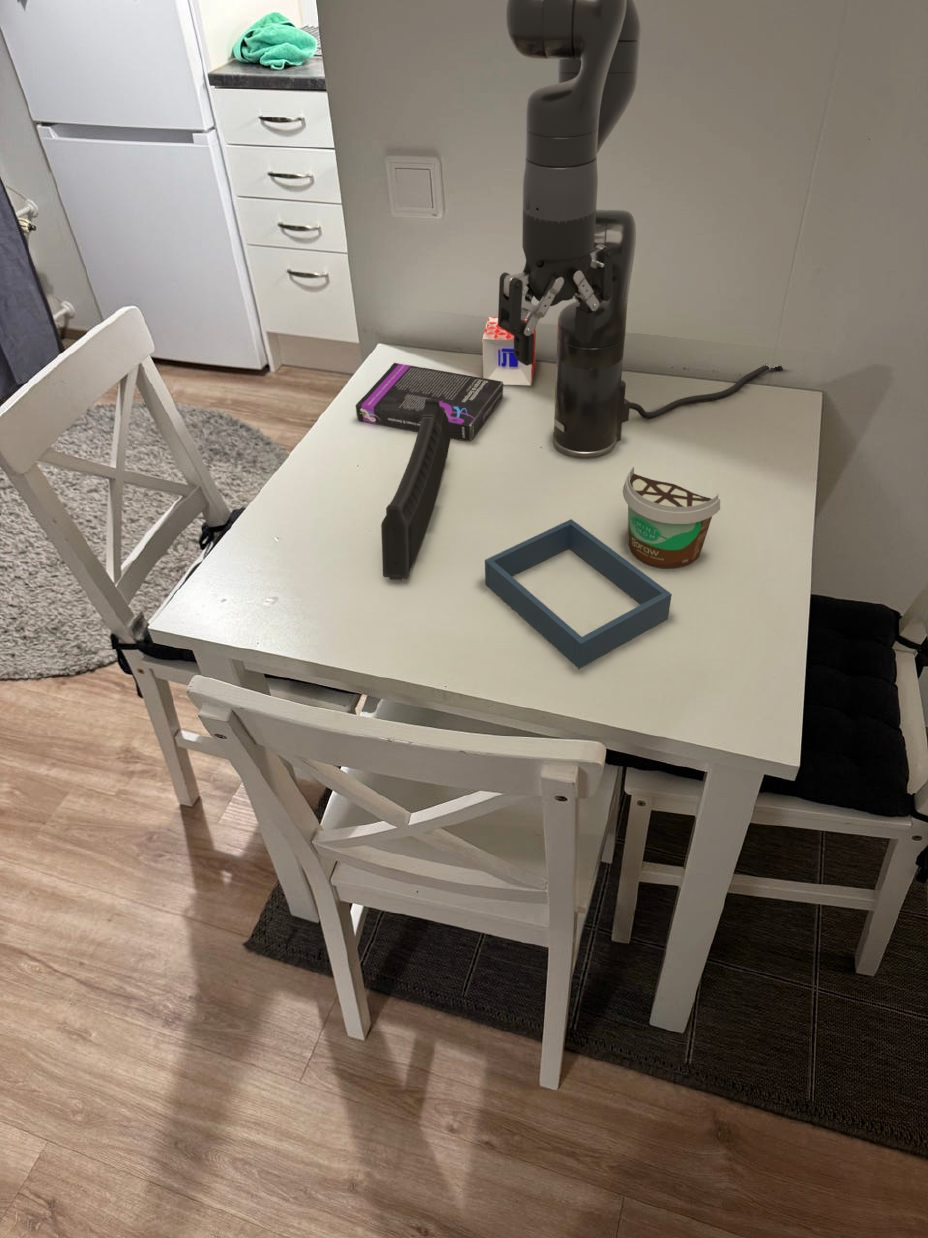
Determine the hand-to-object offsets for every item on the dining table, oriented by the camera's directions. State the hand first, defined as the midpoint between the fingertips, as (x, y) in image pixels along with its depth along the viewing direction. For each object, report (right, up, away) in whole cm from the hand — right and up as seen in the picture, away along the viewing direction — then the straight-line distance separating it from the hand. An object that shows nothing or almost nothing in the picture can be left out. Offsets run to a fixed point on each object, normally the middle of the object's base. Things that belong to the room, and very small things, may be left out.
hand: (554, 350), depth 104 cm
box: (-16, +2, +40) cm, 43 cm away
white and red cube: (-3, +10, +48) cm, 50 cm away
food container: (+14, -23, +12) cm, 29 cm away
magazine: (-16, -16, +20) cm, 31 cm away
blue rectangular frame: (+3, -29, +6) cm, 29 cm away
